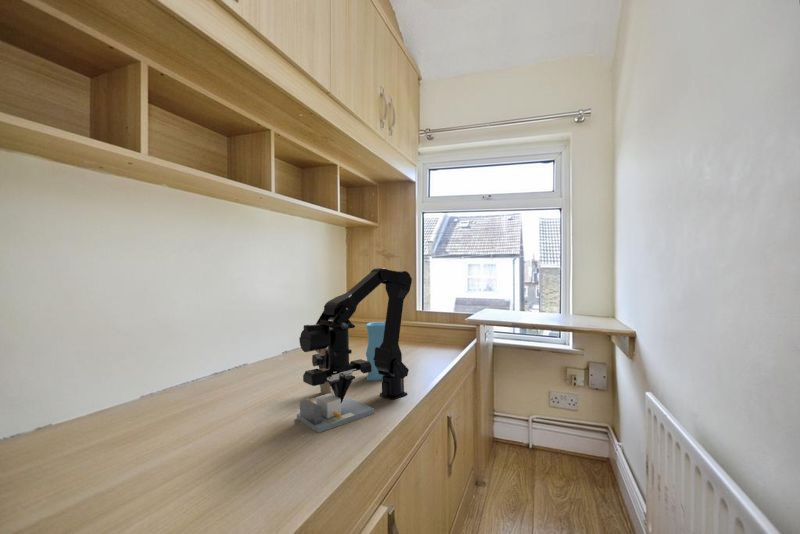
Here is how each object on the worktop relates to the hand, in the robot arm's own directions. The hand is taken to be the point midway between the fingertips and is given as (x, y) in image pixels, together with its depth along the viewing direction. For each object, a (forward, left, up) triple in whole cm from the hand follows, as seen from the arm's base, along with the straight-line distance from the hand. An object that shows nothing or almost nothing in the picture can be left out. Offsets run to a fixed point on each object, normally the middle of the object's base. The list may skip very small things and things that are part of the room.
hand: (339, 403), depth 94 cm
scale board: (+1, 0, -3) cm, 3 cm away
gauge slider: (+3, +1, -2) cm, 4 cm away
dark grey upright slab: (+9, 0, -2) cm, 9 cm away
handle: (-6, -19, -3) cm, 20 cm away
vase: (-29, -20, -3) cm, 36 cm away
